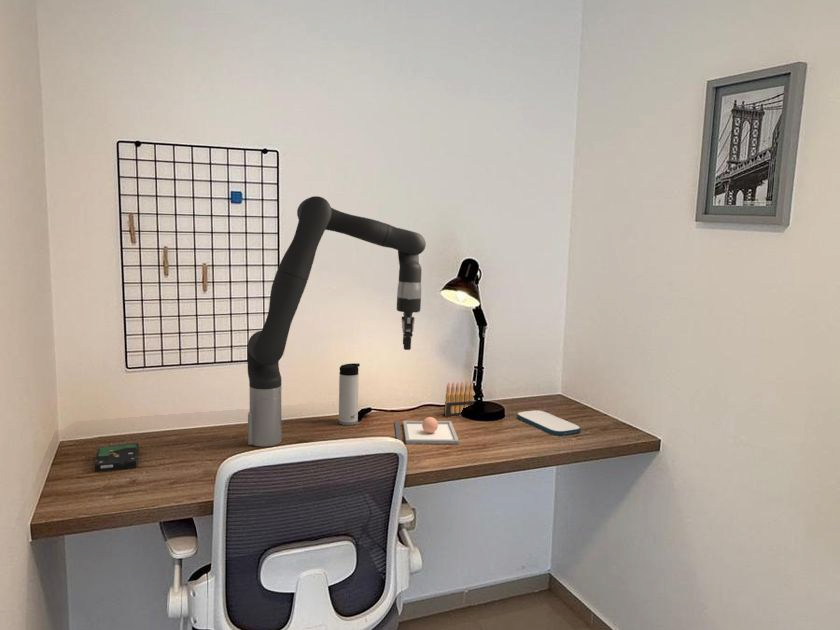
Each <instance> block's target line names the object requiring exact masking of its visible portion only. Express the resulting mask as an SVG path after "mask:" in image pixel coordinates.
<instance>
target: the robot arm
mask: <svg viewBox="0 0 840 630" xmlns="http://www.w3.org/2000/svg"><path fill="white" fill-rule="evenodd" d="M296 215H297V219H298V223H297V226H296V230H295V233H294V236H293V237H292V241H291V243H290V244H289V246H288V248H287V249H286V251H285V253H284V255H283V257H282V259H281V261H280V263H279V265H278V268H277V270H276V273H275V276H274V279H273V280H272V281H273V282H272V284H271V288H270V289H271V290H270V296H269V306H268V313H267V316H266V319H265V322H264V324H263V327H262V329H261V330H258V331H256V332H255V333H253V334H252V335H251V336H250V338H249V339H248V341H247V345H246V346H247V349H246V358H247V360H246V361H247V375H248V381H249V384H248V386H249V411H248V413H247V445H248V446H249V445H250V446H255V447H272V446H276V445H279V444H281V442H282V376H281V373H280V366H279V361H280V360H281V359H282V357H283V356H284V353H285V349H286V345H287V341H288V337H289V332H290V330H291V326H292V323H293V320H294V317H295V315H296V312H297V310H298V307H299V304H300V302H301V299H302V297H303V294H304V292H305V289H306V287H307V283H308V281H309V277H310V274H311V272H312V268H313V264H314V261H315V256H316V254H317V249H318V247H319V245H320V242H321V239H322V237H323V235H324V233H325V231H331V232H335V233H339V234H343V235H346V236H349V237H352V238H355V239H357V240H361V241H364V242H367V243H370V244H373V245H376V246H379V247H384V248H390V249H393V250H396V251H397V255H398V264H399V269H398V283H397V293H396V311H397V312H399V313H400V312H401V313H402V315H403V316H401V329H402V333H403V334H402V345H403V350H404V351H410V350H411V349H412V338H413V336H414V335H413V332H414V328H415V327H414V324H415V317H414V316H413V314H414V313H419V312H421V308H422V307H421V303H422V266H421V264H420V261H419V260H420V259H419V255H421V254H422V253H423V252H424V251H425V249H426V240H425V237H423V235H422V234H420V233H419V232H415V231H412V230H408V229H404V228H400V227H397V226H394V225H391V224H389V223H385V222H382V221H379V220H375V219H374V218H373V219H372V218H368V217H364V216H358V215H354V214H350V213H347V212H344V211H343V212H342V211H340V210H337V209H336V208H333V207H332V206H331V204H330V203H329V201H328V200H327V199H325V197H322V196H317V195H316V196H310V197H307V198H305V199H304V200H303V201H301V203H300V204H299V206H297V211H296Z"/></svg>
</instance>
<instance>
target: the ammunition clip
mask: <svg viewBox="0 0 840 630" xmlns="http://www.w3.org/2000/svg"><path fill="white" fill-rule="evenodd" d="M445 392H446V393H445V402H444V410H443V411H444V412H443V416H444V417H445V418H452V417H451V416H456V417H460V416H459V415H461V412H462V410H463V408H466V407H468V406H471V405H473V404H474V403H475V402H474V385H473V381H470V383H469V382H468V381H466V382H465V385H464V382H463V381H461V384H459V382H458V381H457V382H456V385H455V383H454V382H452V383H451V386H450V383H449V382H448V383H447V385H446V391H445ZM474 405H475V404H474Z"/></svg>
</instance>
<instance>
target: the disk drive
mask: <svg viewBox="0 0 840 630" xmlns="http://www.w3.org/2000/svg"><path fill="white" fill-rule="evenodd" d="M139 451H140V449H139V443H138V442H135V443H125V444H117V445H107V446H103V445H101V446H100V447H98V449H97V454H96V457H95V461H94V473H103V472H104V473H105V472H112V471H113V472H114V471H123V470H124V471H125V470H130V469H131V470H132V469H135V470H136V469H138V465H139V463H138V460H139Z"/></svg>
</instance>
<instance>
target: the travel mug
mask: <svg viewBox="0 0 840 630" xmlns="http://www.w3.org/2000/svg"><path fill="white" fill-rule="evenodd" d="M360 366H361V364H360V363H355V362H354V363H345V364H341V365H340V367H339V374H338V375H339V379H338V381H339V382H338V424H340V425H341V424H342V425H343V426H355V425H358V422H359V419H358V417H359V414H358V413H359V378H360V377H359V367H360ZM354 424H355V425H354Z"/></svg>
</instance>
